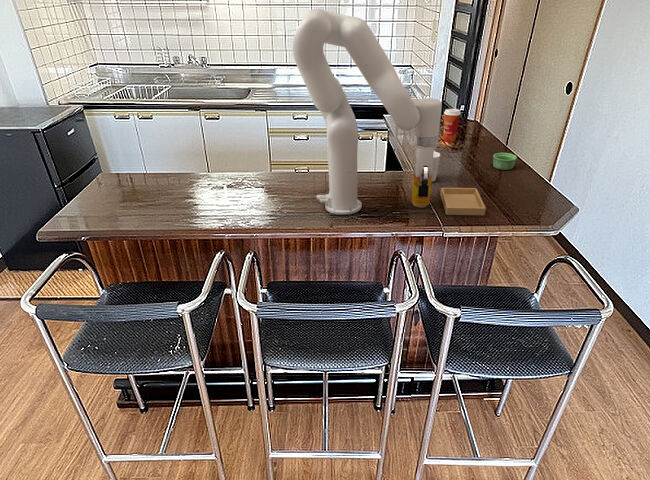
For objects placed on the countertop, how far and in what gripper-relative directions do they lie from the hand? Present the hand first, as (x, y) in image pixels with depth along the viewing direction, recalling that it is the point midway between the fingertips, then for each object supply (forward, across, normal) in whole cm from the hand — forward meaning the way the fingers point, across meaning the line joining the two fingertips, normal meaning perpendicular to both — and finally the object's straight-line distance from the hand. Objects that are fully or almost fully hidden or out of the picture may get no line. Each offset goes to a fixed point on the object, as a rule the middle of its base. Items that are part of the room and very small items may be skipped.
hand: (421, 191), depth 148 cm
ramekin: (+5, -37, +36) cm, 52 cm away
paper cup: (+5, -72, +19) cm, 75 cm away
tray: (+5, 0, +14) cm, 15 cm away
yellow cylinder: (+5, 0, 0) cm, 5 cm away
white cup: (+5, -23, +4) cm, 24 cm away
